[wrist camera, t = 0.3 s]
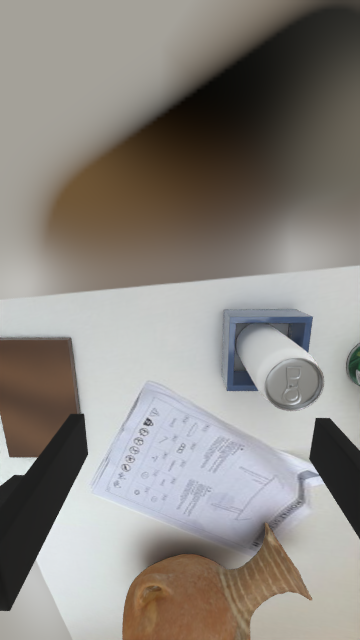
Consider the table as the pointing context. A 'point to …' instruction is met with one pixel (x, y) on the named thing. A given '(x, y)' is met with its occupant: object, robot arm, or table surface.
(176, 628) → the jug
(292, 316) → the holder
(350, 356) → the canned tomato
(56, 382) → the board
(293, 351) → the can
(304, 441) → the table surface
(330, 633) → the table surface
